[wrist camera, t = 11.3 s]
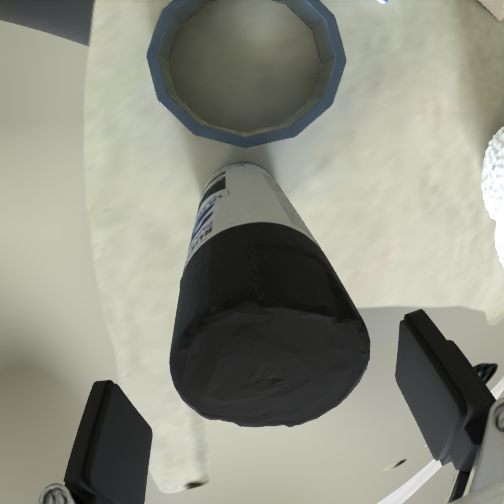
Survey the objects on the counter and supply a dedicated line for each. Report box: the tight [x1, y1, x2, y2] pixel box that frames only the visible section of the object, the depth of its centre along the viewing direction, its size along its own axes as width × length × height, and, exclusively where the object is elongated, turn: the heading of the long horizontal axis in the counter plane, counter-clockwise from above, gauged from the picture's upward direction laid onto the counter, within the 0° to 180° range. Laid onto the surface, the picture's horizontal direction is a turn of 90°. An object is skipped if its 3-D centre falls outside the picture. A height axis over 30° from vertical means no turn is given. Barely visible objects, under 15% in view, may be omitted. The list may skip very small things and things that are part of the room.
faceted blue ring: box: [147, 0, 346, 148], centre depth 21 cm, size 14×14×4 cm
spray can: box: [169, 163, 370, 427], centre depth 19 cm, size 7×7×20 cm
